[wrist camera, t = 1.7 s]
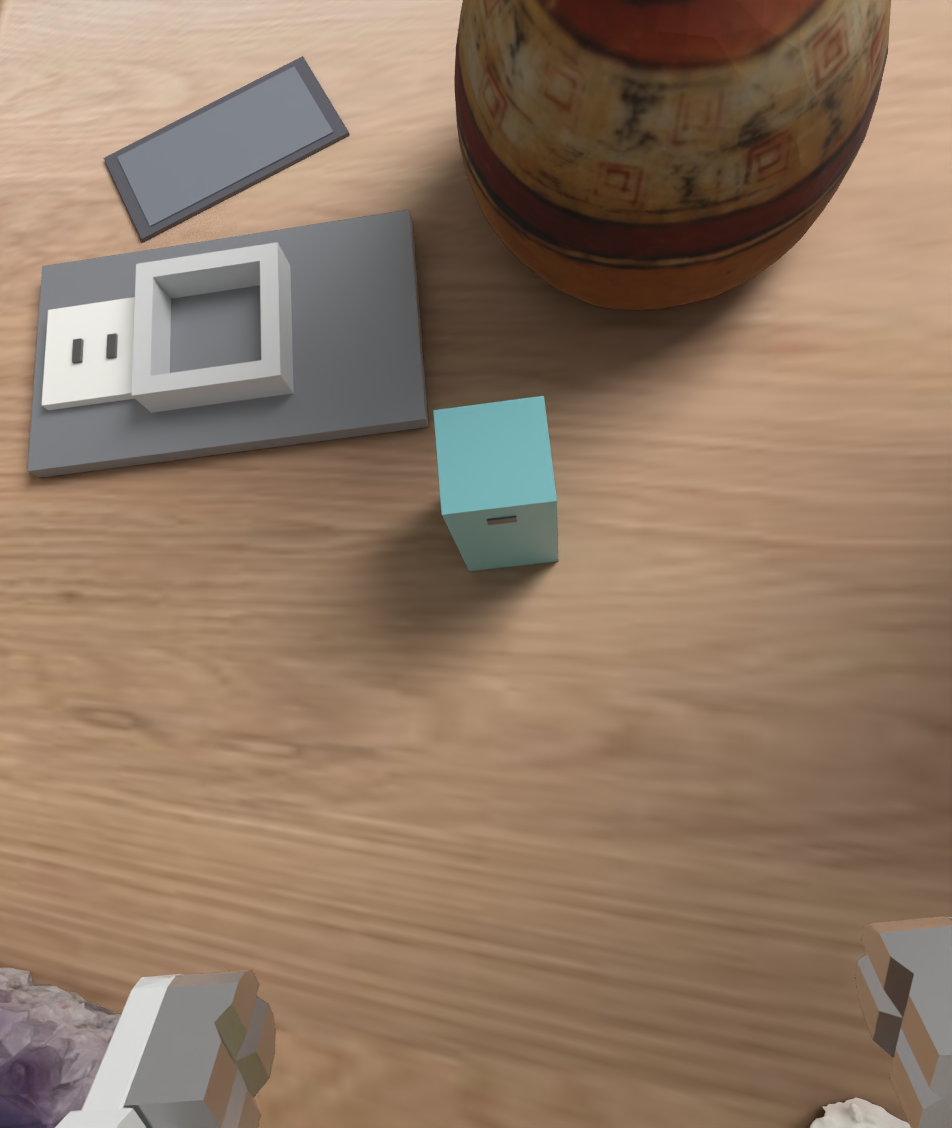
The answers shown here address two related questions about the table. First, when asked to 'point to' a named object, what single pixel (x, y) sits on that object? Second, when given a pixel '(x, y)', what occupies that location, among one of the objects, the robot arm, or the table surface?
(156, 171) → the phone
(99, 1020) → the geode
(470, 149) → the ceramic pitcher
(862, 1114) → the green-topped white figurine
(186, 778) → the table surface
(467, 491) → the teal box with slot
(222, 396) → the grey socket base board
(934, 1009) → the robot arm
